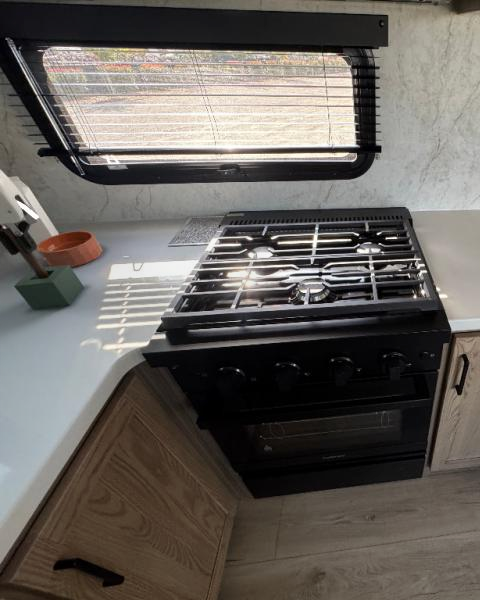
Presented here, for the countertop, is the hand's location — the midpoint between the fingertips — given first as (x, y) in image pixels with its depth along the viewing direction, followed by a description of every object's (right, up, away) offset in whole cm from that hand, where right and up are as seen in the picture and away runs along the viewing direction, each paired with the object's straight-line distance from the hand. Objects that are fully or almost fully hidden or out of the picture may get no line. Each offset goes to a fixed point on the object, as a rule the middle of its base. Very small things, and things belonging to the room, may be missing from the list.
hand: (24, 250), depth 73 cm
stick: (0, -9, +7) cm, 12 cm away
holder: (0, -10, +8) cm, 13 cm away
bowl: (-10, +1, +22) cm, 25 cm away
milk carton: (-26, +6, +29) cm, 39 cm away
